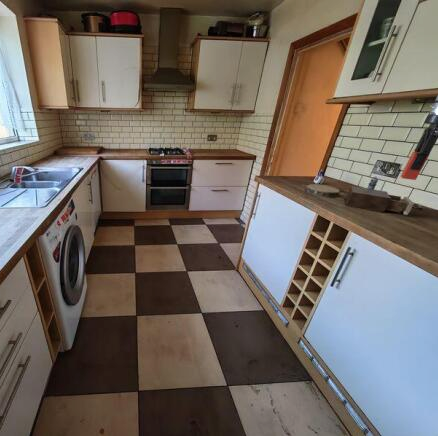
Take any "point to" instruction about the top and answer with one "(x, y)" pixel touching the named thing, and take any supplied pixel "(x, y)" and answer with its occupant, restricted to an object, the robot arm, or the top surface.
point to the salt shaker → (372, 183)
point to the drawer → (401, 205)
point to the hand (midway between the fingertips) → (412, 168)
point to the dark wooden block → (367, 199)
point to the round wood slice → (322, 190)
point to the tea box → (412, 173)
